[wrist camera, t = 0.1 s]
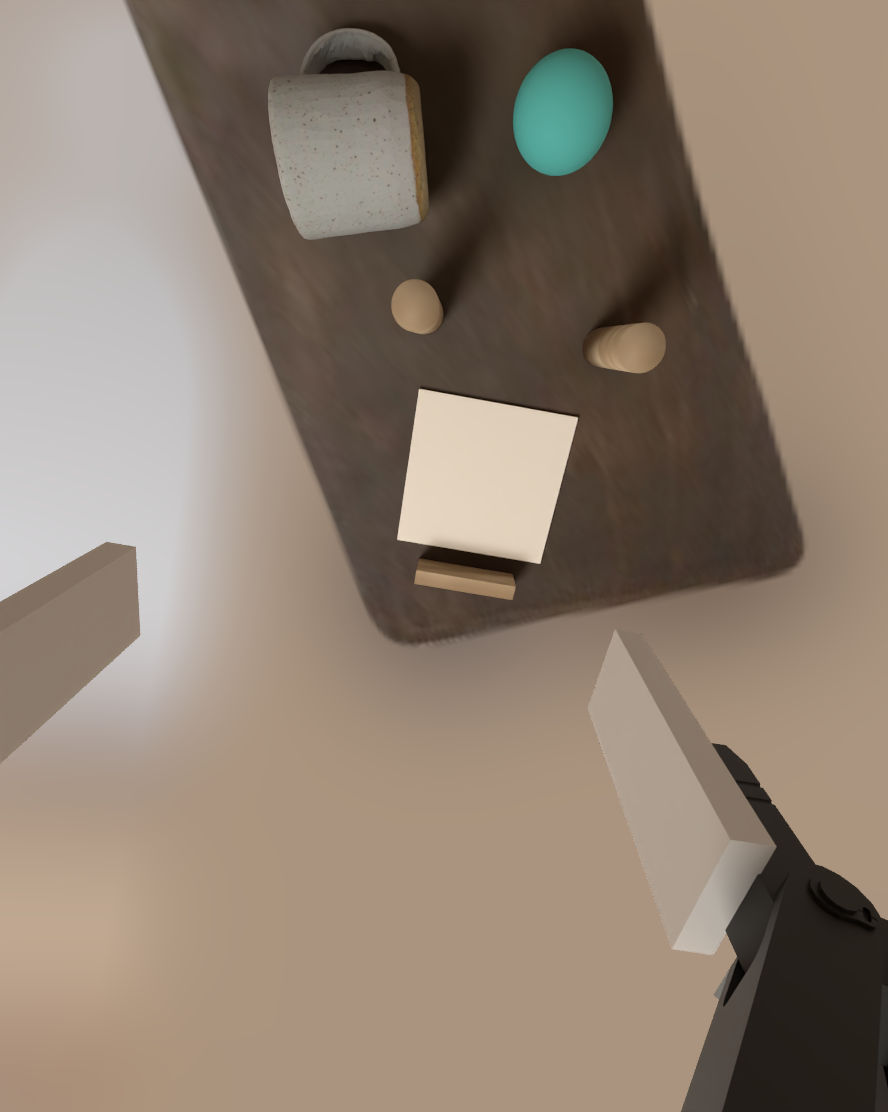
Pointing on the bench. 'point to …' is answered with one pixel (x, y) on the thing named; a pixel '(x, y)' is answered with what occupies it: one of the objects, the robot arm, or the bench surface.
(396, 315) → the post
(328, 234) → the ceramic mug
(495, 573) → the stopper strip
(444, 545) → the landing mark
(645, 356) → the post
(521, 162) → the bench surface
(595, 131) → the ball
